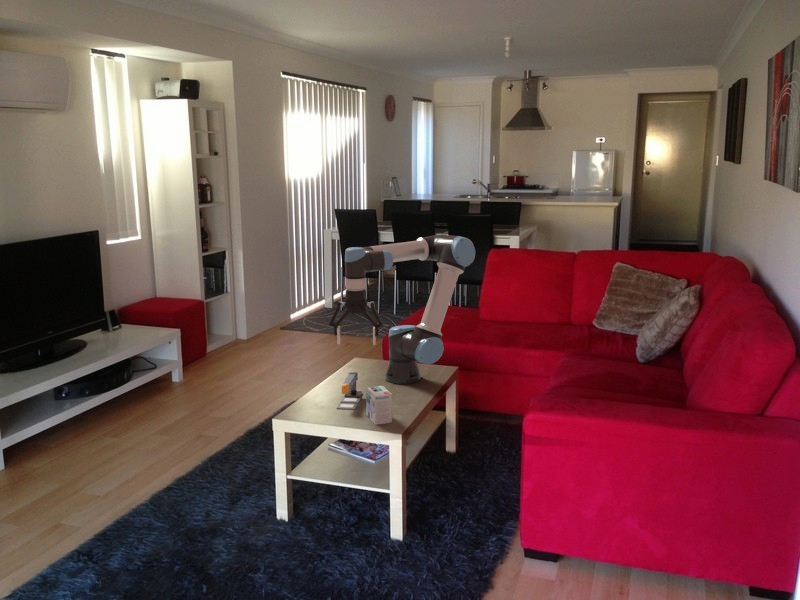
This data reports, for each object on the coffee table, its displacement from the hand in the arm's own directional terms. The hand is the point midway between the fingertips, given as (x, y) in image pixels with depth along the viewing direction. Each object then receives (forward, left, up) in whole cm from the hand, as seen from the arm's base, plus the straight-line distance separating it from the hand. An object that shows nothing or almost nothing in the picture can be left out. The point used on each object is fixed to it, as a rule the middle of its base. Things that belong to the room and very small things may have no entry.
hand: (356, 344), depth 267 cm
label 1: (+3, -2, -23) cm, 24 cm away
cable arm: (+3, 0, -17) cm, 17 cm away
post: (+3, -8, -23) cm, 25 cm away
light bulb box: (-11, +16, -24) cm, 31 cm away
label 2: (+3, +5, -23) cm, 24 cm away
